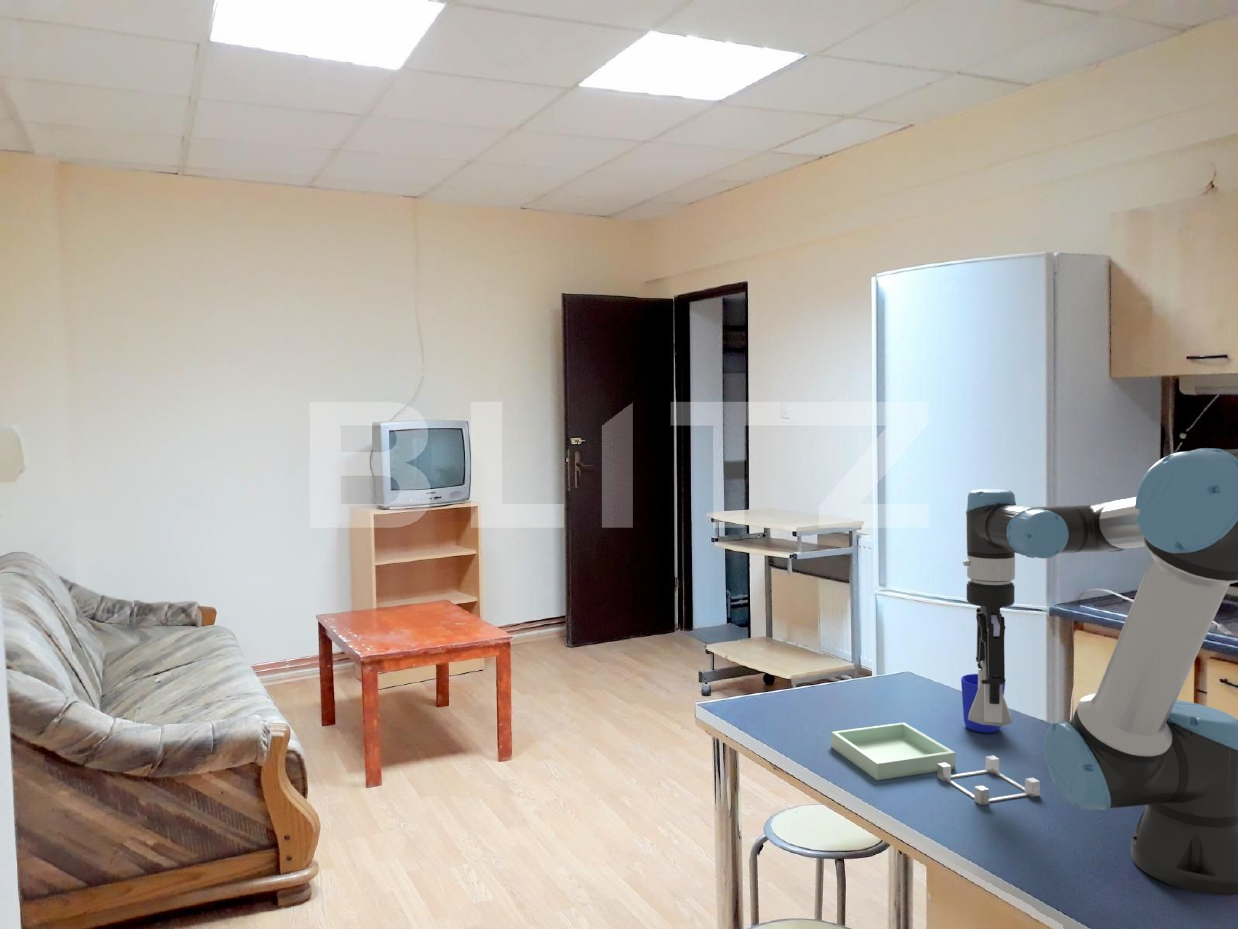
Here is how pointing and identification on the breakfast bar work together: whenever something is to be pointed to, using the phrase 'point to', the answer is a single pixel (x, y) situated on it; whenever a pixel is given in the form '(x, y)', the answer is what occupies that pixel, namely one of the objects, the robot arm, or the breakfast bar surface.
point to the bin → (891, 750)
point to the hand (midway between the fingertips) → (989, 714)
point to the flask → (978, 705)
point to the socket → (981, 791)
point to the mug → (968, 696)
